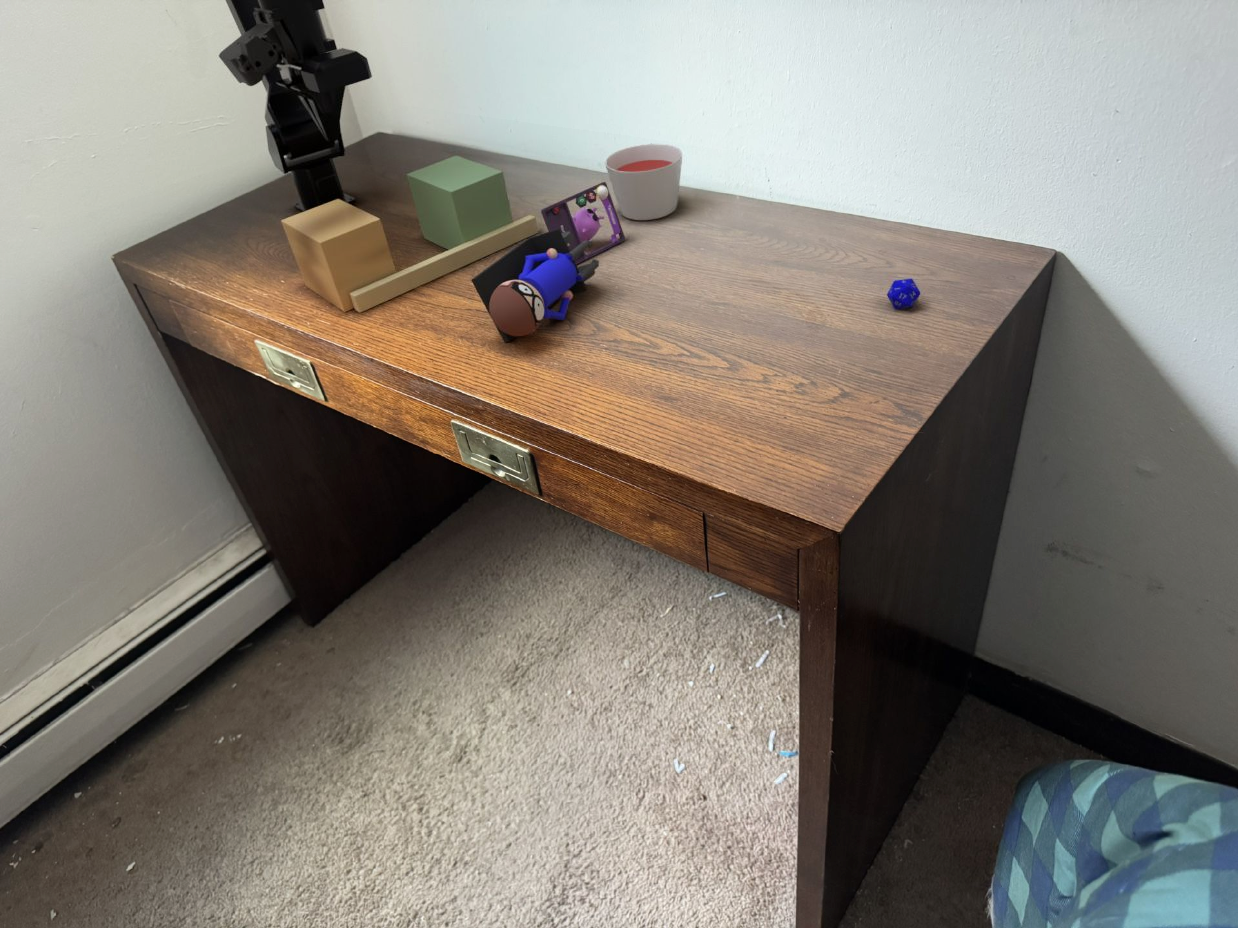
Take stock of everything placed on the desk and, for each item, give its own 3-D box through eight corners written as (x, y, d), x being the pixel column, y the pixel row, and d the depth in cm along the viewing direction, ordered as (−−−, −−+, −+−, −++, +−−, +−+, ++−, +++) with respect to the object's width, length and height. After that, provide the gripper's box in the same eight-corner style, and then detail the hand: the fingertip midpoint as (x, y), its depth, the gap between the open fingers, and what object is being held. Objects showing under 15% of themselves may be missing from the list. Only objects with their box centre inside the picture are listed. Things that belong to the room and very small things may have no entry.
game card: (545, 208, 91) (609, 180, 95) (521, 214, 95) (583, 187, 100) (568, 269, 94) (629, 239, 98) (543, 272, 98) (603, 243, 102)
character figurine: (613, 290, 90) (528, 364, 81) (556, 275, 93) (468, 345, 84) (608, 220, 85) (517, 290, 76) (547, 206, 88) (452, 273, 79)
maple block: (305, 286, 99) (280, 220, 94) (360, 263, 103) (338, 198, 98) (344, 312, 93) (319, 242, 88) (401, 287, 96) (380, 218, 91)
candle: (604, 226, 102) (597, 173, 98) (620, 196, 109) (614, 145, 105) (679, 224, 100) (675, 170, 96) (691, 194, 107) (687, 142, 103)
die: (920, 301, 80) (929, 287, 78) (900, 319, 80) (908, 306, 77) (898, 282, 81) (906, 267, 78) (878, 300, 81) (886, 286, 78)
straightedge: (354, 309, 93) (348, 293, 92) (532, 230, 104) (529, 214, 103) (359, 313, 92) (354, 296, 91) (538, 232, 103) (535, 216, 102)
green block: (423, 238, 106) (405, 174, 101) (471, 218, 109) (456, 155, 104) (467, 259, 100) (451, 192, 95) (516, 237, 103) (502, 171, 98)
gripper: (180, 4, 94) (237, 148, 104) (245, 18, 82) (302, 179, 92) (276, -19, 99) (321, 120, 109) (350, -9, 87) (393, 146, 97)
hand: (332, 141), depth 101 cm, fingers closed
